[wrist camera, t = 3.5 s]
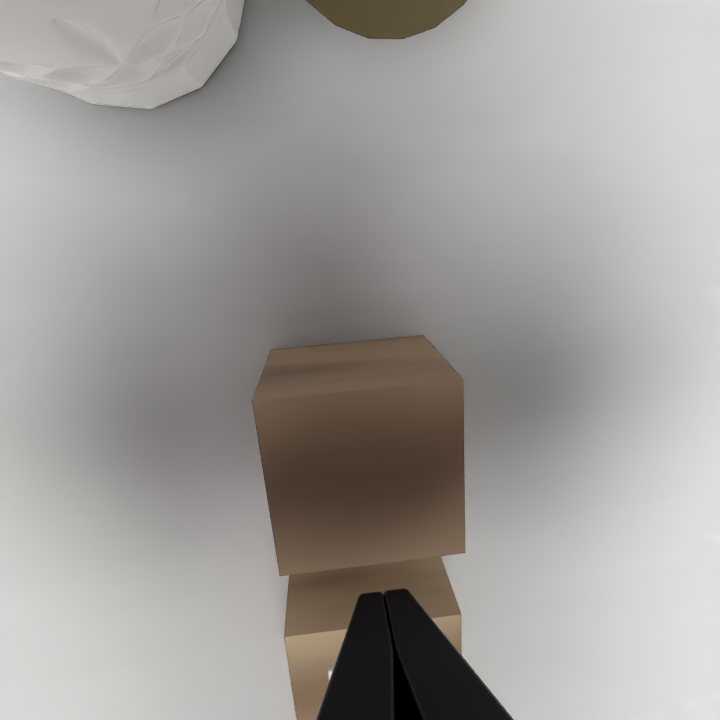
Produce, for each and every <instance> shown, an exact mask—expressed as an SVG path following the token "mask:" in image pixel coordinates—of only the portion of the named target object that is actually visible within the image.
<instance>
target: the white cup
mask: <svg viewBox="0 0 720 720" xmlns="http://www.w3.org/2000/svg"><path fill="white" fill-rule="evenodd" d="M244 3H245V0H0V73H2V74H5V75H7V76H10V77H13V78H17V79H20V80H23V81H27V82H31V83H34V84H38V85H42V86H45V87H49V88H54V89H57V90H59V91H62V92H64V93H67V94H69V95H71V96H74V97H76V98H78V99H81V100H83V101H86V102H88V103H91V104H98V105H109V106H120V107H131V108H142V109H153V108H155V107H157V106H160V105H162V104H164V103H167V102H169V101H171V100H173V99H176V98H178V97H180V96H183V95H185V94H187V93H189V92H192V91H194V90H196V89H199V88H201V87H202V86H203V85H204V84H205V82H206V81H207V80H208V78H209V77H210V76H211V74H212V73H213V72H214V70H215V69H216V68H217V66H218V65H219V64H220V62H221V61H222V60H223V58H224V57H225V56H226V54H227V53H228V52H229V51H230V49H231V48H232V47H233V45H234V44H235V43H236V41H237V38H238V33H239V28H240V23H241V18H242V13H243V8H244Z"/></svg>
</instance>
